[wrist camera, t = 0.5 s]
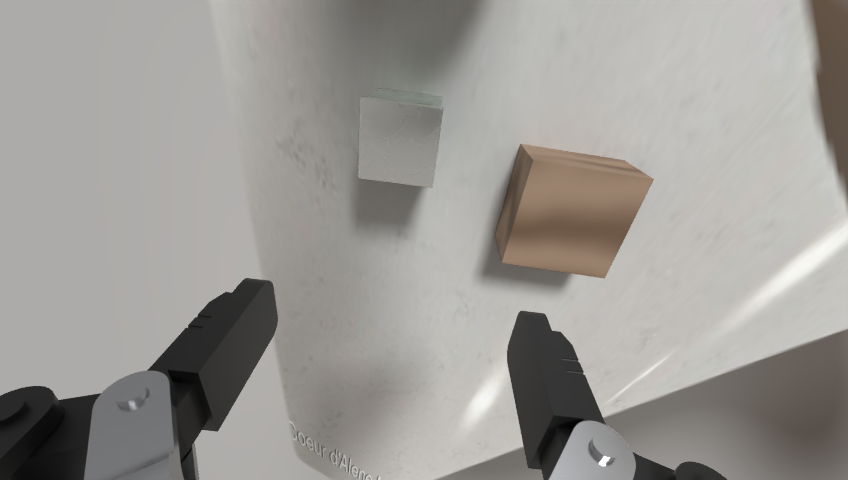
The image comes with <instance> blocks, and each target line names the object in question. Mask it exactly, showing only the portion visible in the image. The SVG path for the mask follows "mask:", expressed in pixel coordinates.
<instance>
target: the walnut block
mask: <svg viewBox="0 0 848 480" xmlns="http://www.w3.org/2000/svg"><path fill="white" fill-rule="evenodd" d="M653 180H654V179H653V178H651V177H649V176H648V175H646V174H645V173H643V172H642V171H640V170H638V169H637V168H635V167H634V166H632V165H631V164H629V163H628V162H626V161H624V160H618V159H612V158H606V157H600V156H593V155H587V154H581V153H574V152H568V151H562V150H556V149H549V148H543V147H537V146H530V145H524V144H520V148H519V152H518V155H517V159H516V162H515V166H514V169H513V173H512V176H511V180H510V184H509V187H508V191H507V194H506V198H505V201H504V205H503V209H502V212H501V216H500V219H499V223H498V226H497V230H496V233H495V239H496V243H497V247H498V250H499V254H500V258H501V262H502V263H506V264H513V265H519V266H526V267H533V268H539V269H546V270H553V271H559V272H566V273H573V274H579V275H586V276H593V277H599V278H605V277H606V275H607V273H608V271H609V269H610V267H611V265H612V263H613V261H614V259H615V257H616V255H617V253H618V250H619V248H620V246H621V244H622V242H623V240H624V238H625V236H626V234H627V232H628V230H629V228H630V226H631V224H632V222H633V220H634V218H635V216H636V214H637V212H638V210H639V208H640V206H641V204H642V202H643V200H644V198H645V196H646V194H647V192H648V190H649V188H650V186H651V184H652V182H653Z"/></svg>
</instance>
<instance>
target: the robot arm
mask: <svg viewBox="0 0 848 480" xmlns="http://www.w3.org/2000/svg"><path fill="white" fill-rule="evenodd" d="M277 322H278V315H277V308H276V301H275V294H274V287H273V284H272V282H271V281H267V280H258V279H250V278H246V279H244V280H243V281H242V282H241V283H240V284H239V285H238V286H237V288H236V289H235V290H234V291H233V292H232V293H229V292H225V293H223V294H222V295H220V296H219V297H217V298H215V299H214V300H212V301H210V302H209V303H208V304H207V305H206V307H205V308H204V309H203V310H202V311H201V312H200V313H199V314H198V317H196V318H195V319H194V320H193V321H192V322H191V323H190V324H189V325H188V328H185V330H184V331H183V332H182V333H181V334H180V335H179V336H178V337H177V338H176V340H175V341H174V342H173V343H172V344H171V345H170V346H169V347H168V348H167V349H166V351H165V352H164V353H163V354H162V355H161V356H160V357H159V358H158V360H157V361H156V362H155V363H154V364H153V365H152V366H151V367H150V368H149V369H148V370H147V371H142V372H137V373H134V374H131V375H128V376H126V377H124V378H122V379H120V380H118V381H116V382H115V383H113V384H112V385H111V386H109V387H108V388H107V389H105V390H104V391H103V393H100V394H94V395H88V396H82V397H75V398H69V399H63V400H58V399H57V397H56V396H55V395H54V393H53V391H52V390H50V389H49V388H46V387H42V386H31V387H25V388H20V389H17V390H14V391H11V392H8V393H5V394H3V395H1V396H0V480H199V473H198V465H197V457H196V449H195V444H194V441H195V440H196V438H197V437H198V435H199V433H200V432H201V430H209V431H218V430H219V428H220V427H221V425H222V423H223V421H224V420H225V418H226V416H227V415H228V413H229V411H230V410H231V408H232V406H233V404H234V403H235V401H236V399H237V398H238V396H239V394H240V392H241V391H242V389H243V387H244V386H245V384H246V382H247V380H248V378H249V377H250V375H251V373H252V372H253V370H254V368H255V367H256V365H257V363H258V361H259V360H260V358H261V356H262V355H263V353H264V351H265V349H266V348H267V346H268V344H269V343H270V341H271V339H272V337H273V336H274V333H275V331H276V327H277ZM507 362H508V368H509V373H510V378H511V383H512V388H513V394H514V399H515V404H516V409H517V414H518V419H519V424H520V429H521V434H522V440H523V445H524V449H525V455H526V460H527V465H528V468H532V469H541V470H542V474H543V478H544V480H727V479H726V478H725V477H723V476H722V475H721V474H719V473H718V472H716V471H715V470H713V469H711V468H709V467H708V466H705V465H703V464H700V463H696V462H684V463H682V464H680V465H679V466H678V467H677V468H676V469H675V471H674V470H672V469H669V468H667V467H665V466H662V465H660V464H658V463H655V462H653V461H650V460H648V459H646V458H643V457H641V456H639V455H637V454H635V453H634V452H632V450H631V448H630V447H629V445H628V444H627V443H626V441H625V440H624V439H623V438H622V437H621V436H620V435H619V434H618V433H617V432H616V431H614V430H613V429H612V428H610V427H608V426H607V425H606V424H605V422H604V420H603V417H602V415H601V412H600V410H599V408H598V405H597V403H596V401H595V398H594V396H593V393H592V391H591V389H590V386H589V384H588V382H587V379H586V377H585V375H583V370H582V367H581V365H580V363H579V362H578V358H577V355H576V353H575V351H574V348H573V346H572V344H571V343H570V342H569V341H568V340H567V339H566V338H565V336H564V335H563V334H562V333H561V332H558V331H552V330H551V327H550V325H549V322H548V319H547V317H546V315H545V314H543V313H535V312H527V311H520V312H519V314H518V316H517V319H516V322H515V325H514V329H513V332H512V335H511V338H510V341H509V344H508V350H507Z"/></svg>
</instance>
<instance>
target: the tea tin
mask: <svg viewBox="0 0 848 480" xmlns="http://www.w3.org/2000/svg"><path fill="white" fill-rule="evenodd" d="M442 114H443V107H442V96H435V95H427V94H420V93H412V92H405V91H397V90H389V89H382V88H380V89H378V90H376V91H375V92H373V93H372V94H370V95H369V96H367V97H361V98H360V115H359V157H358V178H360V179H368V180H375V181H383V182H391V183H399V184H406V185H414V186H422V187H430V188H432V187H433V180H434V173H435V165H436V158H437V151H438V144H439V136H440V129H441V122H442Z"/></svg>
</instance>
